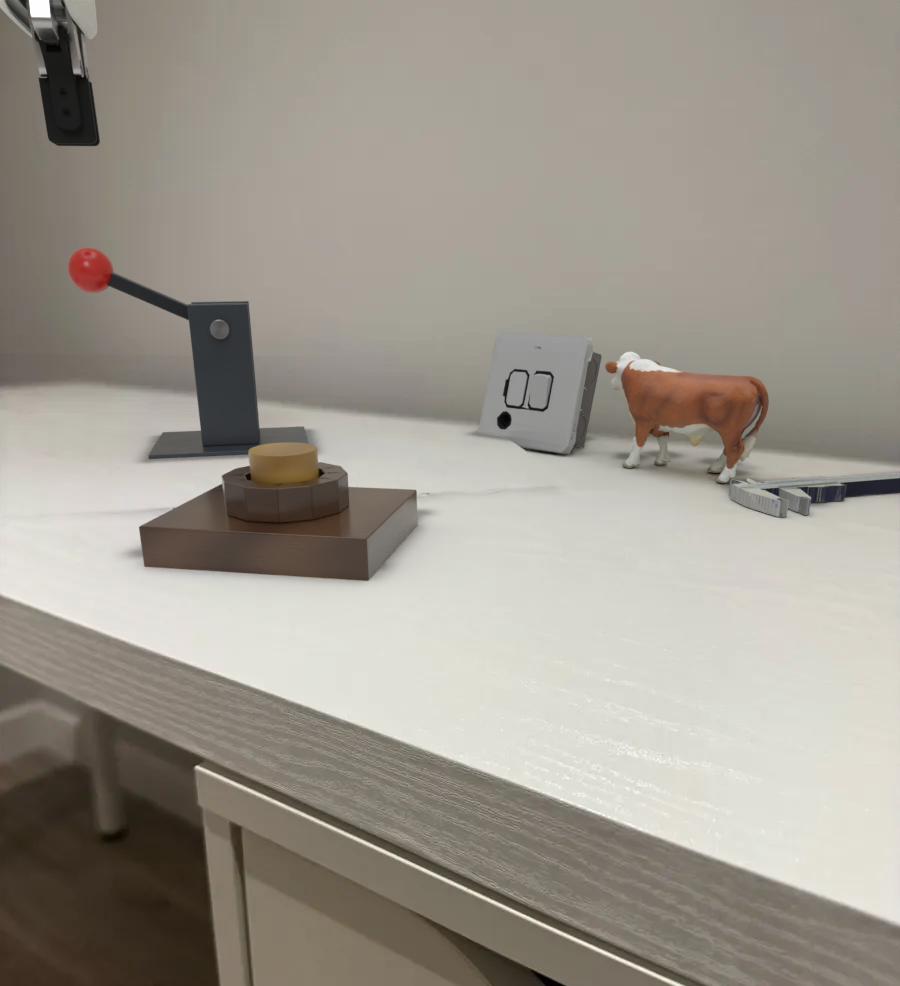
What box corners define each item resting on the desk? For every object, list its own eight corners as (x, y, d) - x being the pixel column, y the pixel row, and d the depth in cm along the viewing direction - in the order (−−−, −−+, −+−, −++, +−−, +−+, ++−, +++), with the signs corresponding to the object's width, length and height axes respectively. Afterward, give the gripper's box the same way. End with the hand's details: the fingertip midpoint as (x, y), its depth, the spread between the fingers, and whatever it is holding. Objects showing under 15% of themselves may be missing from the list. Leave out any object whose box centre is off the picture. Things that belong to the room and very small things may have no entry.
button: (240, 487, 46) (236, 454, 45) (267, 472, 49) (264, 441, 49) (305, 490, 45) (302, 456, 45) (328, 474, 48) (326, 443, 48)
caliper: (786, 501, 52) (713, 480, 57) (783, 519, 53) (712, 496, 58) (1008, 468, 60) (927, 451, 66) (1005, 483, 61) (924, 466, 66)
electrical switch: (475, 443, 76) (483, 330, 73) (511, 440, 79) (520, 333, 77) (566, 457, 70) (578, 335, 67) (600, 453, 74) (613, 338, 71)
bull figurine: (618, 452, 71) (624, 348, 69) (769, 479, 62) (784, 360, 59) (582, 460, 69) (587, 352, 66) (735, 490, 59) (749, 365, 56)
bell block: (143, 567, 45) (132, 491, 44) (228, 516, 54) (222, 451, 53) (368, 582, 43) (365, 501, 41) (417, 525, 52) (416, 458, 50)
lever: (57, 282, 64) (70, 238, 63) (66, 281, 67) (79, 240, 66) (230, 355, 68) (245, 315, 67) (232, 351, 71) (246, 313, 70)
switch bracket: (150, 470, 67) (128, 306, 62) (164, 446, 76) (146, 301, 72) (310, 463, 69) (299, 303, 65) (305, 439, 78) (295, 299, 74)
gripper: (-4, -133, 62) (43, 156, 69) (-80, -246, 49) (-12, 129, 55) (107, -126, 64) (143, 157, 70) (64, -234, 50) (113, 130, 56)
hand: (75, 143), depth 63 cm, fingers closed
